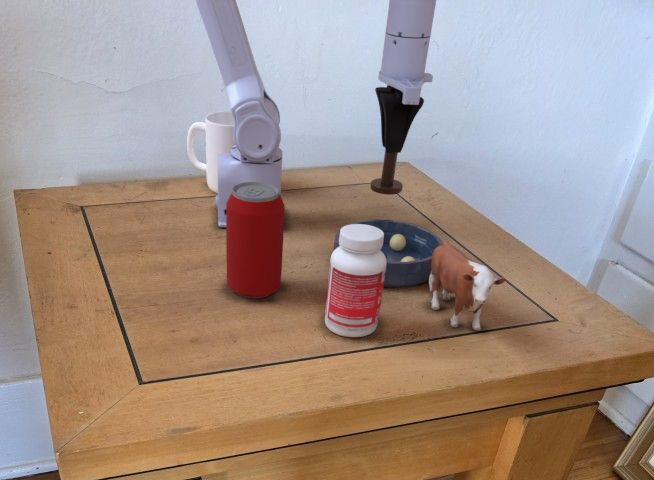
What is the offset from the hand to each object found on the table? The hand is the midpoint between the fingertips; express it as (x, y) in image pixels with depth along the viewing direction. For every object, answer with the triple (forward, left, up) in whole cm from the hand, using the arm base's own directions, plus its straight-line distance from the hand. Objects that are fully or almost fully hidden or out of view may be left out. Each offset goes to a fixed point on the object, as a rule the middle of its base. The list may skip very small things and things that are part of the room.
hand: (391, 149), depth 97 cm
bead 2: (0, -18, -9) cm, 20 cm away
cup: (-24, +15, -11) cm, 30 cm away
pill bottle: (-9, -31, -11) cm, 34 cm away
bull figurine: (+4, -29, -11) cm, 31 cm away
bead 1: (0, -11, -9) cm, 14 cm away
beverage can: (-20, -22, -11) cm, 32 cm away
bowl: (-2, -15, -10) cm, 18 cm away
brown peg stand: (0, 0, -5) cm, 5 cm away
